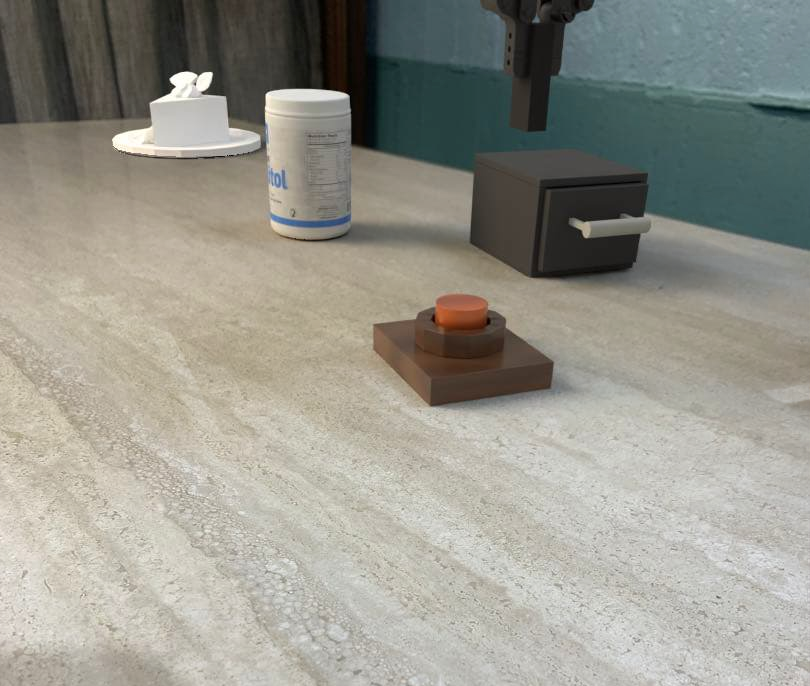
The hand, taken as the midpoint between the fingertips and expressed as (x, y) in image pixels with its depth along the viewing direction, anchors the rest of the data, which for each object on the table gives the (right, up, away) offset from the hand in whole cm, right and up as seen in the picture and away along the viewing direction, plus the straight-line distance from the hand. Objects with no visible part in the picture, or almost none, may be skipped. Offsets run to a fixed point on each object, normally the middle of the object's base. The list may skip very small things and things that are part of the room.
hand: (527, 128), depth 62 cm
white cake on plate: (-46, +39, +88) cm, 106 cm away
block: (-5, -16, +7) cm, 18 cm away
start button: (-4, -13, +4) cm, 14 cm away
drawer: (+9, +1, +31) cm, 32 cm away
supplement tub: (-20, +7, +41) cm, 46 cm away
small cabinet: (+7, +2, +35) cm, 36 cm away
